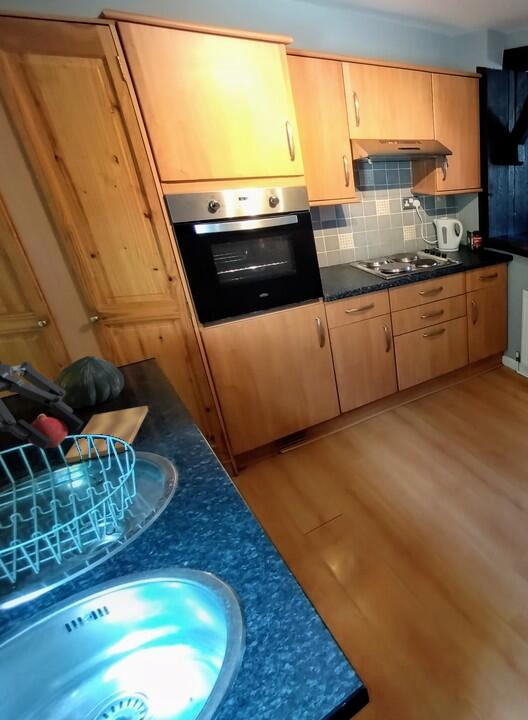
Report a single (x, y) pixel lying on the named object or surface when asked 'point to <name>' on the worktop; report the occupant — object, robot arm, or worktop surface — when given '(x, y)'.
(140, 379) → the worktop surface
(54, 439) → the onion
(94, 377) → the squash
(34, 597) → the worktop surface
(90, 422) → the cutting board
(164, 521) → the worktop surface
